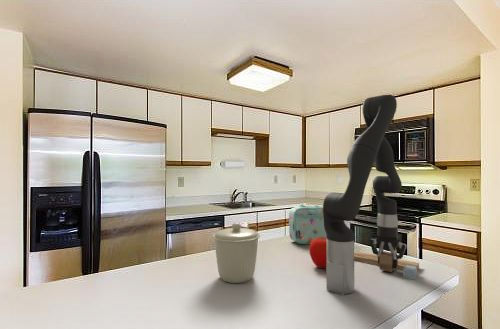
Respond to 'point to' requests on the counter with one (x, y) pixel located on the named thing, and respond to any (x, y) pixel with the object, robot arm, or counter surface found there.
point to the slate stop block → (410, 272)
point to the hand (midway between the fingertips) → (387, 266)
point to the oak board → (374, 260)
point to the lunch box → (306, 223)
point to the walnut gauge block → (386, 261)
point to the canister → (236, 253)
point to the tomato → (319, 252)
